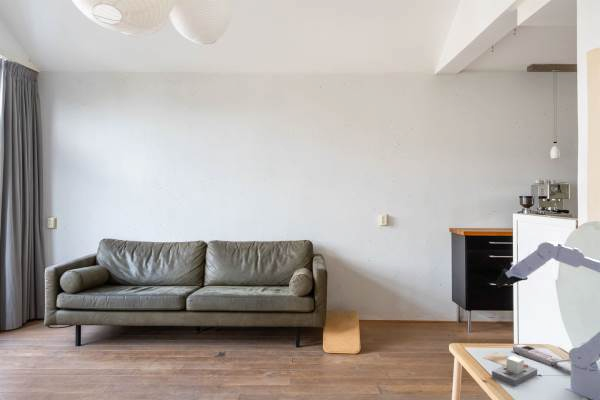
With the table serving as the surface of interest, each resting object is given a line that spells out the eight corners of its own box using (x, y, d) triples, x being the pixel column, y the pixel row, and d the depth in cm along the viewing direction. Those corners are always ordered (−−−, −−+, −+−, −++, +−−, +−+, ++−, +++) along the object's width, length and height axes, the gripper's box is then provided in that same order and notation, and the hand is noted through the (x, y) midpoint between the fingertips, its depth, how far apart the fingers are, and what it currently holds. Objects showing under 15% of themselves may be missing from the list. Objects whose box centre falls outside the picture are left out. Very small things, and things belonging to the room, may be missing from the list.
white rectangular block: (523, 376, 137) (523, 359, 136) (517, 379, 134) (518, 362, 134) (511, 372, 140) (512, 355, 140) (506, 374, 138) (506, 358, 138)
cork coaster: (519, 362, 150) (519, 360, 150) (507, 367, 144) (507, 366, 144) (495, 353, 158) (495, 352, 158) (483, 358, 152) (483, 357, 152)
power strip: (514, 368, 145) (514, 359, 145) (537, 377, 138) (537, 367, 138) (491, 379, 136) (492, 369, 136) (514, 389, 129) (515, 378, 129)
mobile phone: (571, 359, 140) (507, 336, 162) (570, 375, 140) (507, 350, 162) (580, 357, 142) (516, 334, 165) (580, 373, 142) (515, 348, 165)
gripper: (530, 254, 148) (504, 274, 156) (512, 256, 140) (485, 277, 148) (544, 269, 144) (516, 289, 152) (525, 272, 136) (497, 292, 144)
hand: (501, 284), depth 150 cm, fingers open, 7 cm apart
